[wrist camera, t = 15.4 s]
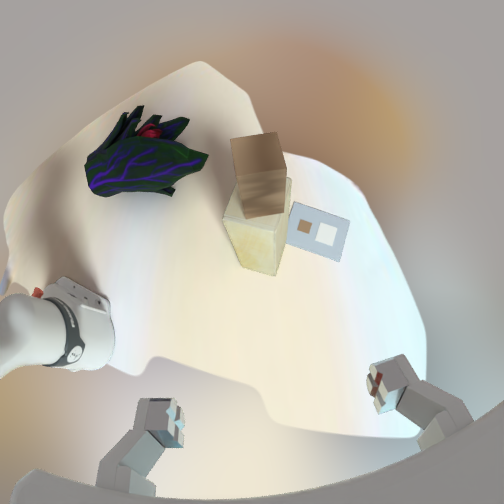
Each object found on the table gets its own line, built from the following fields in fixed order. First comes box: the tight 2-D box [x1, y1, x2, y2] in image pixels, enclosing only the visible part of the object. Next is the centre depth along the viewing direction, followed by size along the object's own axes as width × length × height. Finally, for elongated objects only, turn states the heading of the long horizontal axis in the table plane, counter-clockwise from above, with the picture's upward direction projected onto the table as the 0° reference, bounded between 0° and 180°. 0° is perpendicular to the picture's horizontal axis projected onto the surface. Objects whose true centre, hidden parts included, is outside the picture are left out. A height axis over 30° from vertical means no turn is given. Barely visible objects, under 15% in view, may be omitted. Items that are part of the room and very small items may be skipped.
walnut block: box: [230, 132, 287, 219], centre depth 29 cm, size 4×4×9 cm
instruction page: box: [286, 202, 350, 262], centre depth 54 cm, size 12×9×1 cm
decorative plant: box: [84, 105, 209, 197], centre depth 51 cm, size 21×26×30 cm
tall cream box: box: [223, 177, 292, 276], centre depth 43 cm, size 8×7×21 cm
